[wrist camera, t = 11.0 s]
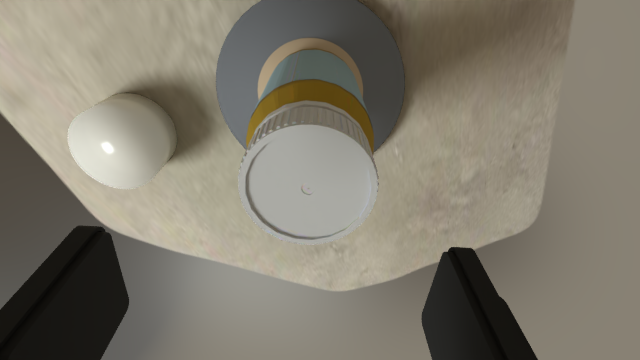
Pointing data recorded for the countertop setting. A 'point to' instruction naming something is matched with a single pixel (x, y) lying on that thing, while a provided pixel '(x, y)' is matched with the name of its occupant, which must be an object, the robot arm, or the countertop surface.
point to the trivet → (306, 33)
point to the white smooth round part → (122, 140)
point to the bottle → (309, 152)
